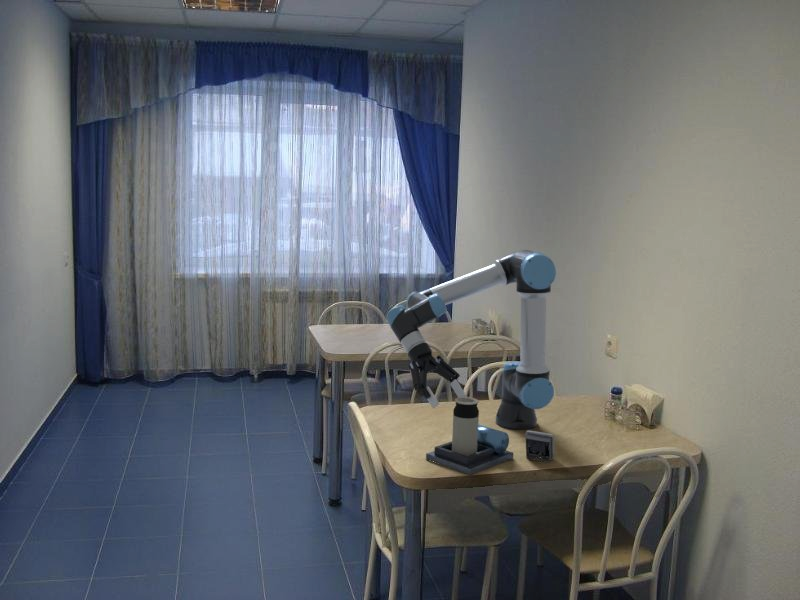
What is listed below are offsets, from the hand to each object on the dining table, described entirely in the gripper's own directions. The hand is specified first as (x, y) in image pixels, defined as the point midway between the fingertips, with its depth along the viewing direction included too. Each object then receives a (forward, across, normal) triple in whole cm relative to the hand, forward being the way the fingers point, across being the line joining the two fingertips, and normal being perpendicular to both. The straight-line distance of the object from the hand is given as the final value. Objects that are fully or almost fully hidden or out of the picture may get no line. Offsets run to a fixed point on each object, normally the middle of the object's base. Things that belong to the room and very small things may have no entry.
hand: (450, 402), depth 254 cm
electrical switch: (+28, -20, +2) cm, 35 cm away
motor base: (+17, -3, -8) cm, 19 cm away
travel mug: (+16, 0, -7) cm, 17 cm away
